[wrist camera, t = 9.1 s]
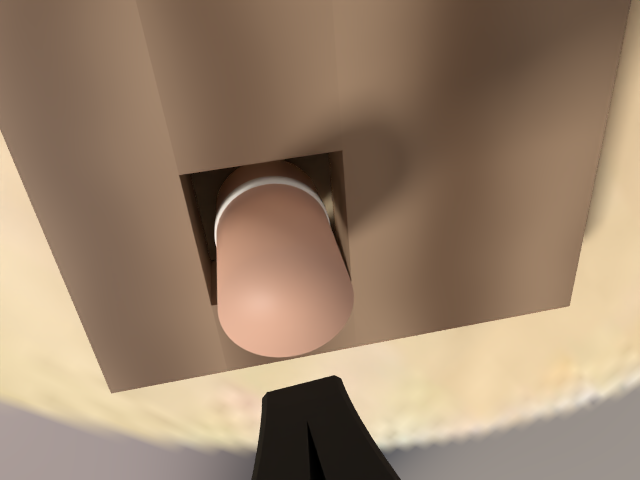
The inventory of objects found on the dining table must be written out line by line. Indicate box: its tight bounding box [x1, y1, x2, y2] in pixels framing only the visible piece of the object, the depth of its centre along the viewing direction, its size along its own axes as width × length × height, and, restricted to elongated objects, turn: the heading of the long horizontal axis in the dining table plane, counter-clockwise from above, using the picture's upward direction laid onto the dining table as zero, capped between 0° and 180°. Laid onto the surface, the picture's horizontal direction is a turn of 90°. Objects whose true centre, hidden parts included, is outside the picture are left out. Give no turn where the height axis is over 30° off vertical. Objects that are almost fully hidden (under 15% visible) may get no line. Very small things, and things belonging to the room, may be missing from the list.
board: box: [0, 0, 631, 393], centre depth 16 cm, size 16×12×2 cm
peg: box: [215, 160, 354, 357], centre depth 15 cm, size 3×3×6 cm
